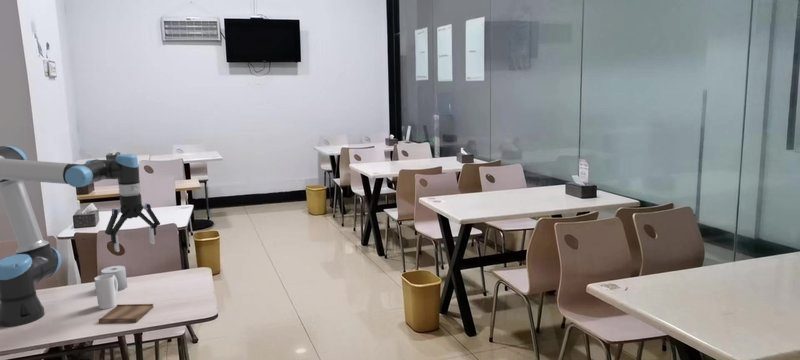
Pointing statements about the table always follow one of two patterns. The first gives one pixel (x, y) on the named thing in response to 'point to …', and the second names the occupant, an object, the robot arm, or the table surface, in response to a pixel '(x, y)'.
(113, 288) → the mug
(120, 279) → the toilet tissue
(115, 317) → the wooden coaster
